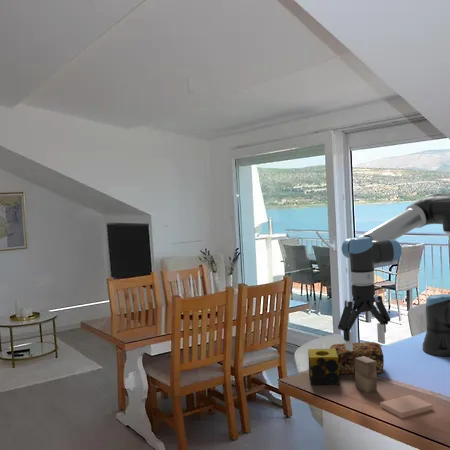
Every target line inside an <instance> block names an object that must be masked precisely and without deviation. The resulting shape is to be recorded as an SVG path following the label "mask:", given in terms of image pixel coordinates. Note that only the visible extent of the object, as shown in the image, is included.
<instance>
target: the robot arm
mask: <svg viewBox="0 0 450 450" xmlns="http://www.w3.org/2000/svg"><path fill="white" fill-rule="evenodd" d="M427 225H442V230H443V232H444V233H445V234H447V235H448V242H449V244H450V193H435V194H431V195H428V196H426V197H424V198H421V199H419V200H417V201H415V202H414V203H412V204H410V205H408V206H406V208H405V211H403V212H401V213H399V214H397V215H395V216H394V217H392V218H389V220H386V221H385V222H382V223H381V224H380V225H378V226H375V227H374V228H372V229H370V230H369V231H367V232H365V233H363V234H362V235H359V236H357V237H350V238H346V239H345V240H343V242H342V245H341V253H342V255H343V256H344V257H345V258H347V259H349V263H350V264H349V265H350V282H351V285H350V286H351V287H350V288H351V295H352V296H351V297H352V300H347V299H346V300H344V308H343V310H342V314H341V316H340V319H339V323H338V325H337V329H338V330H341V331H343V333H342V334H343V340H344V341H345V344H346V350H349V351H353V343H354V342H353V331H352V330H351V329H352V327H353V326H354V324H355V322H356V321H357V319H358V316H359V315H361V313H365V312H370V313H371V314H372V316H373V317H374V318H375V319H376V320H377V321H378V322H377V323H376V326H377V328H376V331H377V343H378V344H382V345H385V344H386V333H387V325H388V324H389V322H391V319H392V318H391V317H390V315H389V313H388V311H387V309H386V306H385V305H384V302H383V296H382V295H379V294H376V290H375V289H376V287H375V285H376V284H374V283H375V265H378V264H385V263H393V262H396V261H399V259H401V257H402V256H403V255H402V253H403V250H402V245H401V243H400V242H399V241H398V238H401V237H402V236H404V235H406V234H408V233H410V232H411V231H412V230H414V229H421V228H423V227H425V226H427ZM375 305H376V306H375ZM425 314H426V315H425V316H426V317H425V318H426V320H425V321H426V332H425V336H424V340H423V342H422V351H423V352H424V353H427V354H428V355H433V356H439V357H450V293H445V294H444V293H441V294H433V295H429V296H427V298H426V300H425Z"/></svg>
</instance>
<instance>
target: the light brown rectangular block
mask: <svg viewBox="0 0 450 450" xmlns="http://www.w3.org/2000/svg"><path fill="white" fill-rule="evenodd" d="M354 378H355V384H354V385H355V388H357V389H359V390H361V391H362V392H365V393H366V394H369V393H373V392H376V390H377V391H378V388H377V386H378V384H377V383H378V381H377V374H376V361H375V360H372V359H370V358H367V357H365V356H362V357H357V358H355V374H354ZM368 392H369V393H368Z"/></svg>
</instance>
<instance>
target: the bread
mask: <svg viewBox="0 0 450 450" xmlns="http://www.w3.org/2000/svg"><path fill="white" fill-rule="evenodd" d="M334 348H335V349H336V353H337V355H338V372H339V375H340V374H341V375H355V358H357V357H362V356H365V357H367V358H370V359H372V360H375V361H376V375H377V374H383V373H384V363H385V362H384V361H385V360H384V354H383V350H382V345H381V343H379V342H374V341H370V342H368V341H366V342H353V351H349V350H346V343H335V344H332V345H331V346H330V348H329V349H334Z"/></svg>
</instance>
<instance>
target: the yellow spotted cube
mask: <svg viewBox="0 0 450 450" xmlns="http://www.w3.org/2000/svg"><path fill="white" fill-rule="evenodd" d="M307 352H308V353H307V354H308V373H309V374H308V376H309V382H310V385H311V386H318V385H319V386H323V385H324V386H328V385H329V386H331V385H332V386H333V385H337V386H338V385H340V384H341V383H340V373H339V372H338V355H337V353H336V349H335V348H334V349H330V348H309V349H308V350H307Z"/></svg>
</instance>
